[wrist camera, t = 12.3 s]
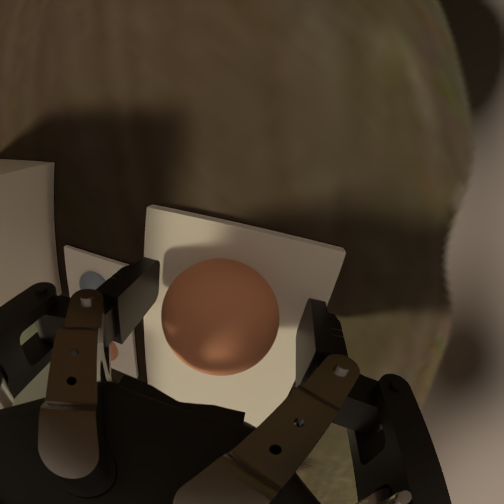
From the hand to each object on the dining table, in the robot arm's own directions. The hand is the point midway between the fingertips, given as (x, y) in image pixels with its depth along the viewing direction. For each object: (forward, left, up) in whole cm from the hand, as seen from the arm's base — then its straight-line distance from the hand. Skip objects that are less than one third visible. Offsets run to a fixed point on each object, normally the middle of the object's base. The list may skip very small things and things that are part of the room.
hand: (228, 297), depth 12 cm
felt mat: (+5, 0, -1) cm, 5 cm away
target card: (+5, -8, -1) cm, 9 cm away
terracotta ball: (0, 0, +2) cm, 2 cm away
